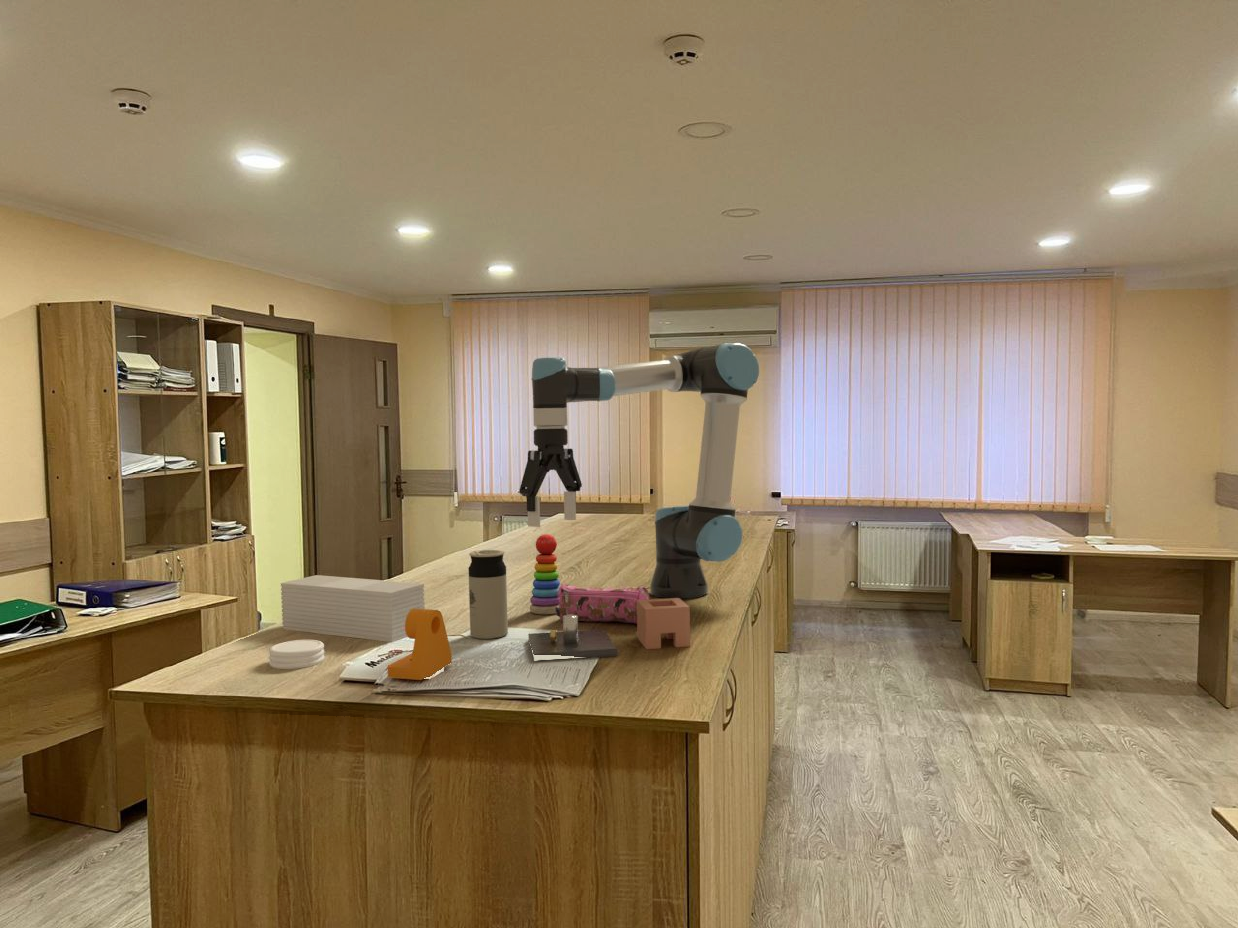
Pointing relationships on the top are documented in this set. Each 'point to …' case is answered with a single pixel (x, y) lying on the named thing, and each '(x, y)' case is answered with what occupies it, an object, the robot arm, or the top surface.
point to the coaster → (296, 654)
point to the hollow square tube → (663, 622)
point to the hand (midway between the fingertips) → (552, 523)
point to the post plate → (574, 649)
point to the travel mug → (488, 594)
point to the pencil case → (600, 603)
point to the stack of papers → (350, 606)
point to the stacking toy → (545, 577)
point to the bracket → (423, 646)
